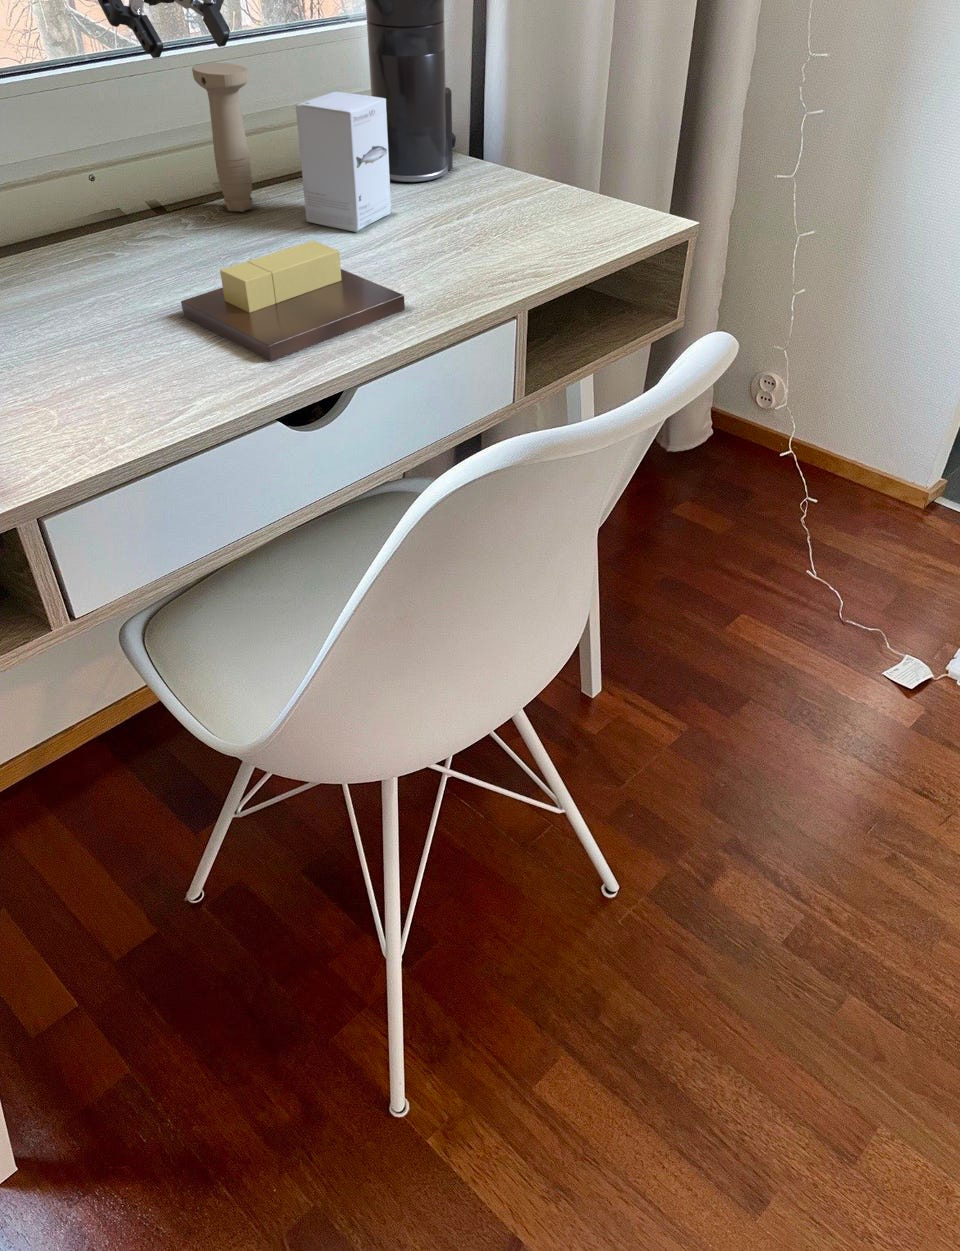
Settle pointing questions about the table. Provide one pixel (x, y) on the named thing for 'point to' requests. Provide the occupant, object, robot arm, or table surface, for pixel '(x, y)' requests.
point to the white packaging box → (344, 159)
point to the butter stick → (301, 269)
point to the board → (296, 315)
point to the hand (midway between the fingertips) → (192, 47)
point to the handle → (228, 130)
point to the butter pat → (247, 287)
